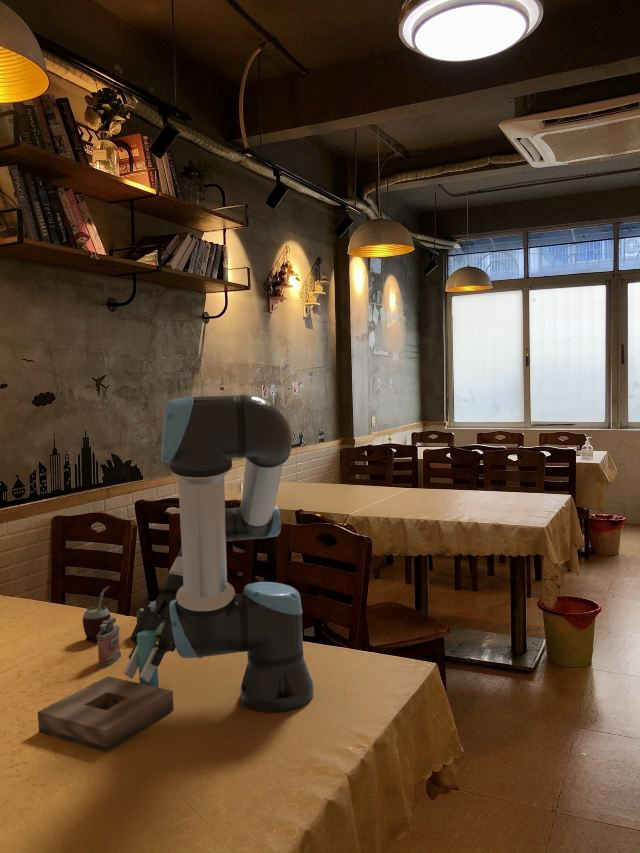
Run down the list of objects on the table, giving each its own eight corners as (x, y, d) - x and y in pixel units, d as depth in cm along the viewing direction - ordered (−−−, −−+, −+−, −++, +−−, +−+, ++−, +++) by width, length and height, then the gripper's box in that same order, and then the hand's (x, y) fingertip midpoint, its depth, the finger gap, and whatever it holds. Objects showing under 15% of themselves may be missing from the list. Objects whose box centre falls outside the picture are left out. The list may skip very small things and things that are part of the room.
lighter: (108, 668, 164) (105, 626, 164) (94, 667, 165) (92, 625, 164) (124, 654, 172) (121, 615, 171) (111, 654, 173) (109, 614, 172)
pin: (162, 685, 152) (159, 631, 152) (149, 692, 149) (146, 637, 148) (148, 682, 154) (145, 629, 154) (135, 689, 151) (132, 635, 150)
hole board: (173, 709, 141) (172, 690, 140) (107, 752, 125) (105, 730, 125) (108, 694, 149) (107, 676, 149) (38, 732, 134) (37, 711, 133)
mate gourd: (87, 635, 187) (84, 580, 186) (117, 633, 188) (114, 578, 187) (80, 645, 180) (77, 588, 179) (112, 643, 181) (108, 586, 180)
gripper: (219, 592, 160) (175, 691, 146) (163, 585, 168) (116, 678, 155) (203, 575, 155) (157, 676, 142) (146, 569, 163) (96, 663, 150)
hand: (136, 677), depth 148 cm, fingers closed on pin, 4 cm apart
